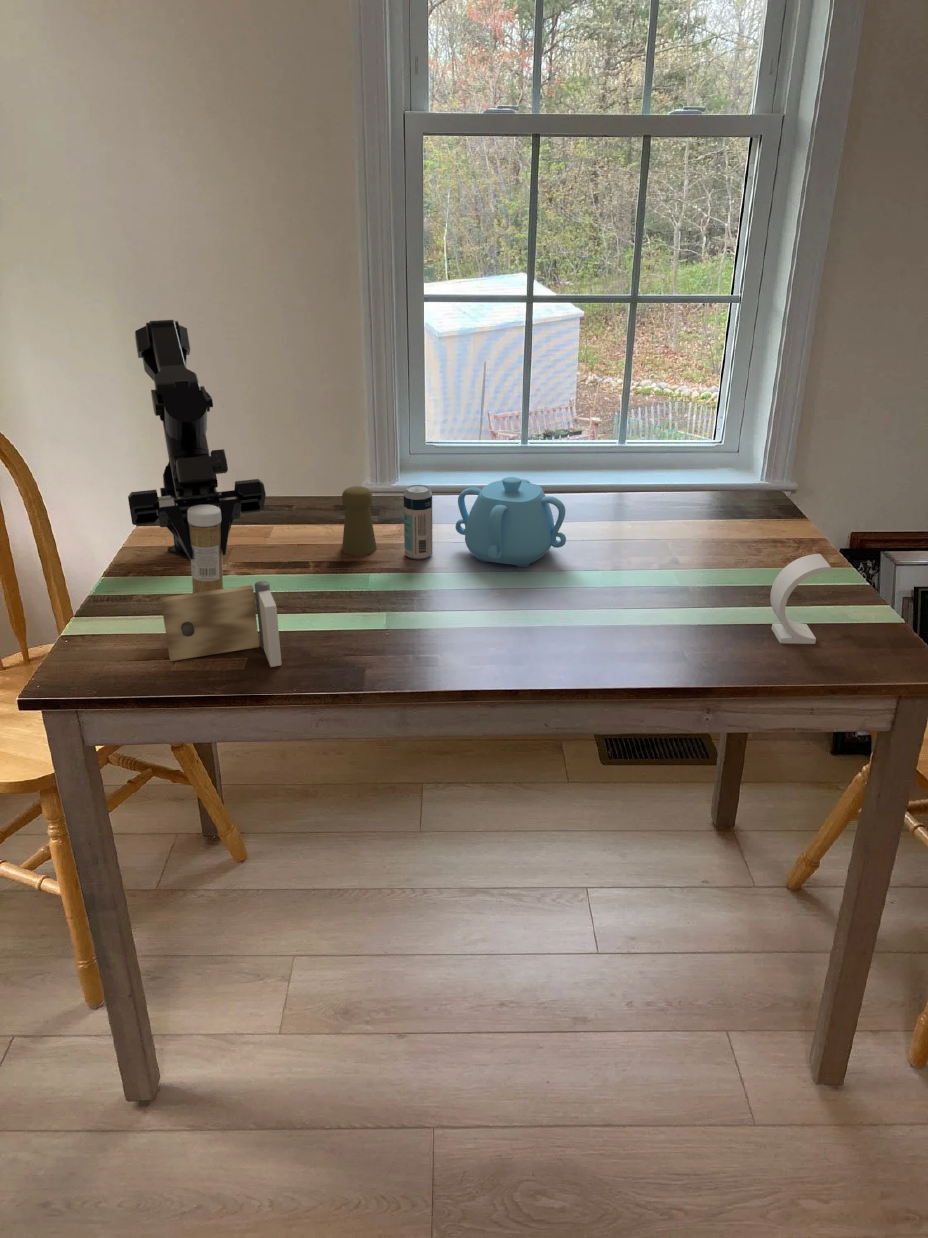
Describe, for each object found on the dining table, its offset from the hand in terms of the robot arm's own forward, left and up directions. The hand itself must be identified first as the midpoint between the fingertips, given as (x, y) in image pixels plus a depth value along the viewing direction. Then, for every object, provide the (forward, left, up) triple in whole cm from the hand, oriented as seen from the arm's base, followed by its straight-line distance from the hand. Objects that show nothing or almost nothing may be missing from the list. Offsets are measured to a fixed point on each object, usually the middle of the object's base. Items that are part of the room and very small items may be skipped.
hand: (207, 556), depth 133 cm
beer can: (+7, +38, -11) cm, 40 cm away
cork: (-3, +34, -11) cm, 36 cm away
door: (+7, -6, -11) cm, 14 cm away
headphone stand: (+68, +48, -11) cm, 84 cm away
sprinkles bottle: (-1, 0, -7) cm, 7 cm away
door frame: (+13, -1, -11) cm, 17 cm away
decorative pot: (+19, +48, -11) cm, 53 cm away
